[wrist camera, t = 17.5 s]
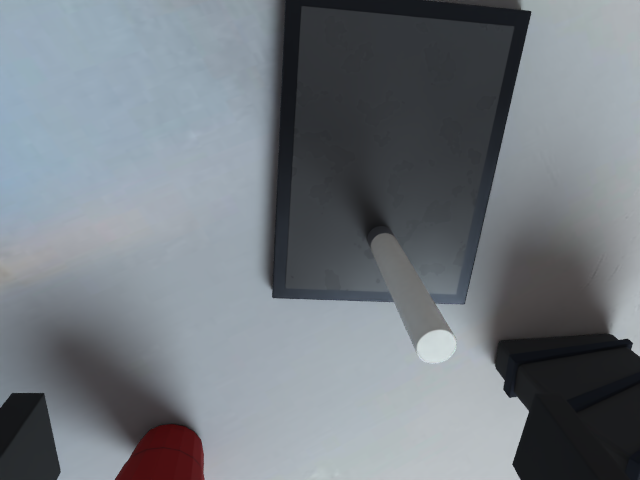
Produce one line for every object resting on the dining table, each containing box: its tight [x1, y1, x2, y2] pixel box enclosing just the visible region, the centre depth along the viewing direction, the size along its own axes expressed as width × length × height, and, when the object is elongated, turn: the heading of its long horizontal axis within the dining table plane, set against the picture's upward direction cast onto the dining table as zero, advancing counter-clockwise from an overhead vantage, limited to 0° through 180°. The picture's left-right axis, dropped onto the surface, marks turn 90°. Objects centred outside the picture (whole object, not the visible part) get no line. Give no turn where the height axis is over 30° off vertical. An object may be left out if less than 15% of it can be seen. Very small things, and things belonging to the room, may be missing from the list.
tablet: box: [272, 0, 531, 304], centre depth 33 cm, size 22×16×1 cm
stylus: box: [367, 226, 457, 363], centre depth 28 cm, size 2×2×14 cm
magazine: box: [495, 334, 640, 480], centre depth 37 cm, size 4×13×15 cm, turn 92°
